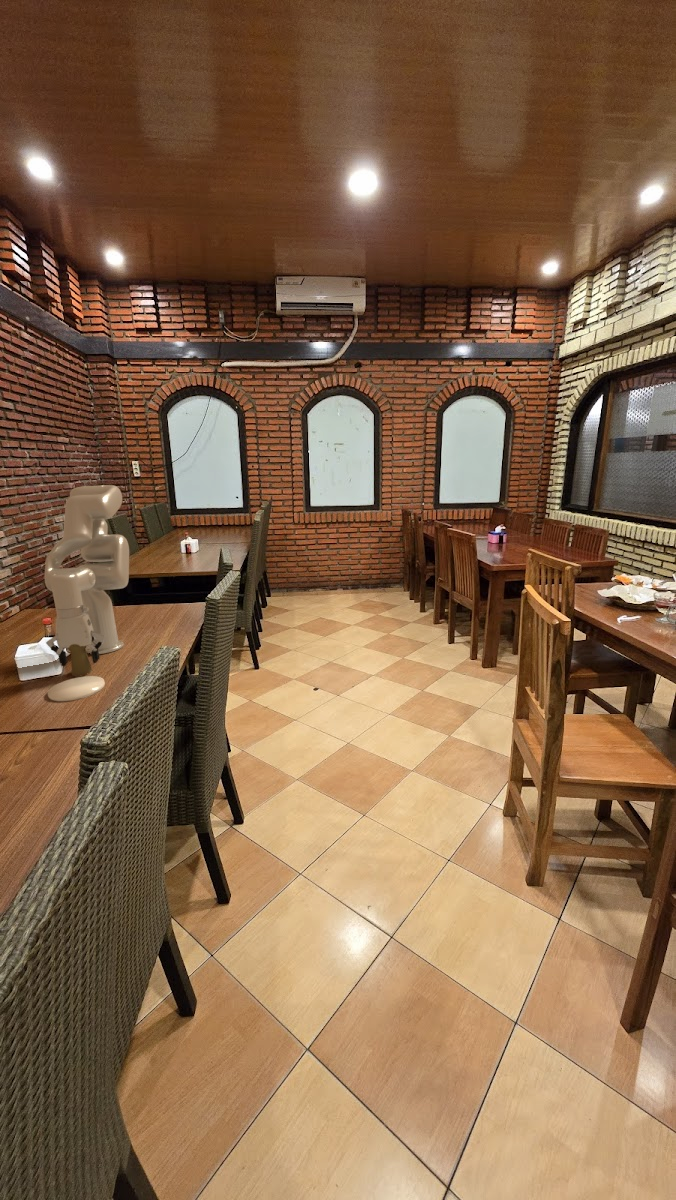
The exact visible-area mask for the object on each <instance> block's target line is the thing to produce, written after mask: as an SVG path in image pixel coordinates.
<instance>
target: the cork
mask: <svg viewBox="0 0 676 1200" xmlns="http://www.w3.org/2000/svg"><path fill="white" fill-rule="evenodd" d="M86 647H87V646H84V647H82V646H79V645H77V644H73V645H70V647H69V648H67V649H68V651H69V652H70V659H71V661H70V663H71V675H72V676H73V677H81V676H80V675H83V676H86V675H88V674H87V673H89V674H91V673H92V672H93V671H92V670H93V668H92V665H91V662H90V660H89V656H88V653H87V652H86ZM91 671H92V672H91ZM90 672H91V673H90ZM85 674H86V675H85Z"/></svg>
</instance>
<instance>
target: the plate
mask: <svg viewBox="0 0 676 1200" xmlns="http://www.w3.org/2000/svg"><path fill="white" fill-rule="evenodd" d="M105 685H106V684H105V679H104V678H102V677H101V676H96V675H90V676H89V675H88V676H86V675H84V676H77V677H75V678H70V679H67V680H64V681H61V682H59V683H56V684H54V685H53V686H52V687H50V688H49V689H48V691H47V697H48V699H49V700H51V701H54V702H71V701H77V700H81V699H85V698H88V697H91V696H92V695H95V694H97V693H99V692H100V691H102V689H103V688H105Z"/></svg>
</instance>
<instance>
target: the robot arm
mask: <svg viewBox="0 0 676 1200" xmlns="http://www.w3.org/2000/svg"><path fill="white" fill-rule="evenodd" d="M122 504H123V494H122V491H121V490H120V488H119V487H118V486H116V485H112V484H108V485H107V484H106V485H104V484H103V485H86V486H85V485H83V486H82V485H81V486H78V487H74V488H72V489H71V490H70V492H69V497H68V498H67V499H66V502H65V508H64V510H65V511H64V520H63V535H62V538H61V539H59V541H58V542H57V543H56V544H55V545H54V546H53V547H52V548H51V551H49V553H48V554H47V556H46V559H45V564H44V565H45V566H44V567H45V568H44V584H45V586H46V588H47V589H48V590H49V591H50V592H52V597H53V600H54V607H55V613H56V617H55V622H54V623H55V636H53V637H52V638H50V639H48V640H46V642H45V643H46V645H47V646H48V647H49V648H50V650H51V651H53V652H54V653H55V654H56V655H57V656H58V660H59V663H60V664H61V667H65V666H66V665H67V664H68V658H67V657H68V656H67V653H66V651H65V649H68V648H69V647H70V645H73V644H77V645H79V646H82V647H84V646H86V648H85V650H86V653H87V654H89V653H90V655H91V658H92V659H91V660H92V663H93V664H96V663H97V662H98V661H99V660H100V655H102V654H103V655H104V654H109V653H113V652H116V651H118V650H120V649H122V648H123V647H124V646H125V645H124V642H123V640H121V639H119V637H118V632H117V625H116V620H115V619H116V618H115V614H114V607H113V603H112V602H113V601H112V599H111V597H110V596H109V595H108V594H107V592H106V590H120V589H124V588H126V587H127V586H128V584H129V576H130V546H129V545H130V544H129V542H128V540H127V538H126V537H125V536H124V535H123V534H117V533H115V534H108V533H109V532H108V530H109V529H108V528H109V526H108V522H107V521H106V520H110V519H112V518H113V517H114V516H115V514H116V513H117V512H118V510H119V509H121V506H122ZM79 550H80V554H81V555H80V556H81V557H82V559H83V560H84V561H86V562H89V563H85V564H81V565H79V566H77V567H65V568H61V566H62V563H63V561H64V560H65V559H66V558H67V557H69V556H70V555H71V554H73V553H76V552H78V551H79ZM90 562H91V563H90ZM54 642H56V643H57V645H56V644H55V643H54Z"/></svg>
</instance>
